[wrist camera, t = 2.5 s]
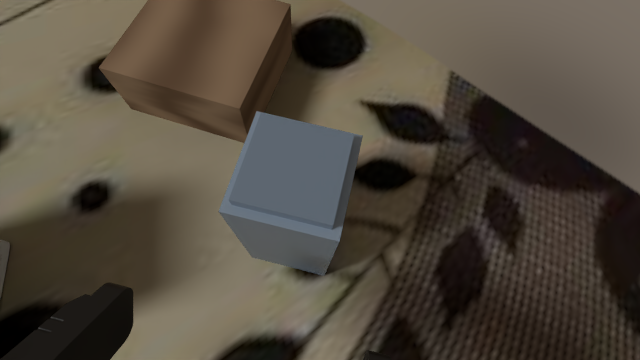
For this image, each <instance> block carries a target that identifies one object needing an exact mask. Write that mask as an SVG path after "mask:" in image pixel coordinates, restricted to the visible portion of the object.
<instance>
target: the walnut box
mask: <svg viewBox="0 0 640 360" xmlns="http://www.w3.org/2000/svg"><path fill="white" fill-rule="evenodd" d="M291 52H292V34H291V7H290V4H287V3H284V2H280V1H276V0H148V1H147V3H146V4H145V5H144V7H143V8H142V9H141V11H140V12H139V14H138V15H137V16H136V18H135V19H134V20H133V22H132V23H131V24H130V26H129V27H128V29H127V30H126V31H125V33H124V34H123V35H122V37H121V38H120V39H119V41H118V42H117V44H116V45H115V46H114V48H113V49H112V50H111V52H110V53H109V54H108V56H107V57H106V59H105V60H104V61H103V63H102V64H101V65H100V67H99V69H100V70H101V71H102V72H103V74H104V75H105V76H106V77H107V79H108V80H109V81H110V83H111V84H112V85H113V86H114V88H115V89H116V90H117V91H118V93H119V94H120V95H121V96H122V98H123V99H124V100H125V101H126V103H127V104H128V105H129V107H130V108H131V109H133V110H137V111H140V112H143V113H147V114H150V115H153V116H157V117H160V118H163V119H167V120H170V121H173V122H177V123H180V124H183V125H187V126H190V127H193V128H197V129H200V130H203V131H207V132H210V133H213V134H216V135H220V136H223V137H226V138H230V139H233V140H236V141H240V142H243V143H245V141H246V138H247V135H248V133H249V130H250V127H251V125H252V122H253V119H254V117H255V114H256V111H258V112H263V113H264V112H265V110H266V108H267V105H268V103H269V101H270V99H271V96H272V94H273V92H274V90H275V88H276V85H277V83H278V81H279V79H280V76H281V74H282V72H283V70H284V68H285V65H286V63H287V61H288V59H289V56H290V54H291Z"/></svg>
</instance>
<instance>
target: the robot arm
mask: <svg viewBox="0 0 640 360" xmlns="http://www.w3.org/2000/svg"><path fill="white" fill-rule="evenodd" d="M132 326H133V290H132V289H131V288H129V287H125V286H121V285H117V284H113V283H106V284H104V285H103V286H102V287H100V288H99V289H98V290H97V291H96V292H95V293H94V294H93V295H91V296H90V295H86V294H85V295H83V296H81V297H79V298H77V299H75V300H73V301H71V302H69V303H67V304H65V305H64V306H63V307H62V308H61V309H59V310H58V311H57V312H56V313H55V314H53V315H52V316H51V318H50V319H48V320H46V321H45V322H44V323H43V324H42V325H40V326H39V328H38V329H37V330H35V331H33V332H32V333H31V334H30V335H29V336H27V337H26V338H25V339H24V340H23V341H21V342H20V343H19V344H18V345H17V346H16V347H14V348H13V349H12V350H11V351H10V352H8V353H7V354H6V355H5V356H4V357H2V358H1V359H0V360H110V359H111V358H112V357H113V355H114V354H115V353H116V352H117V351H118V349H119V348H120V347H121V346H122V344H123V343H124V342H125V341H126V339H127V338H128V336H129V334H130V332H131V329H132ZM363 360H391V357H390V356H389V355H385V354H381V353H377V352H373V351H369V350H367V351H366V353H365V356H364V359H363Z"/></svg>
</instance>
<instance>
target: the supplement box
mask: <svg viewBox="0 0 640 360" xmlns="http://www.w3.org/2000/svg"><path fill="white" fill-rule="evenodd" d="M9 250H10V243H9V242H7V241H4V240H1V239H0V298H1V294H2V288H3V283H4V278H5V273H6V267H7V262H8V256H9Z"/></svg>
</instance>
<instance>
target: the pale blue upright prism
mask: <svg viewBox="0 0 640 360" xmlns="http://www.w3.org/2000/svg"><path fill="white" fill-rule="evenodd" d="M362 137H363V136H362V135H357V134H353V133H349V132H344V131H340V130H336V129H331V128H327V127H323V126H319V125H314V124H310V123H306V122H301V121H297V120H293V119H288V118H284V117H280V116H275V115H271V114H267V113H263V112H258V111H256V114H255V117H254V119H253V122H252V125H251V127H250V130H249V133H248V135H247V138H246V141H245V143H244V146H243V148H242V151H241V154H240V156H239V159H238V162H237V164H236V167H235V170H234V172H233V175H232V178H231V180H230V183H229V186H228V188H227V191H226V193H225V196H224V199H223V201H222V204H221V207H220V209H219V213H220V214H221V216H222V217H223V218H224V220H225V221H226V222H227V224H228V225H229V227H230V228H231V229H232V231H233V232H234V233H235V235H236V236H237V237H238V239H239V240H240V242H241V243H242V244H243V246H244V247H245V248H246V250H247V251H248V252H249V254H250V255H251V257H253V258H257V259H261V260H265V261H268V262H272V263H276V264H280V265H284V266H288V267H292V268H296V269H300V270H304V271H308V272H312V273H316V274H320V275H325V273H326V271H327V268H328V266H329V264H330V262H331V260H332V257H333V255H334V253H335V251H336V248H337V246H338V244H339V242H340V237H341V233H342V228H343V224H344V219H345V215H346V210H347V205H348V201H349V196H350V192H351V187H352V183H353V178H354V173H355V169H356V164H357V160H358V155H359V151H360V146H361V141H362Z"/></svg>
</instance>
